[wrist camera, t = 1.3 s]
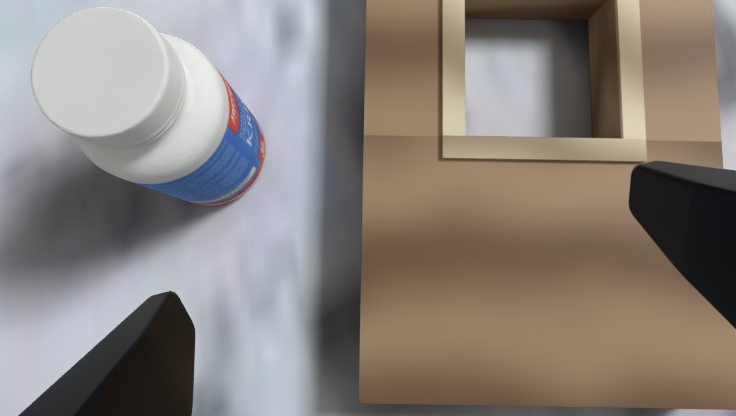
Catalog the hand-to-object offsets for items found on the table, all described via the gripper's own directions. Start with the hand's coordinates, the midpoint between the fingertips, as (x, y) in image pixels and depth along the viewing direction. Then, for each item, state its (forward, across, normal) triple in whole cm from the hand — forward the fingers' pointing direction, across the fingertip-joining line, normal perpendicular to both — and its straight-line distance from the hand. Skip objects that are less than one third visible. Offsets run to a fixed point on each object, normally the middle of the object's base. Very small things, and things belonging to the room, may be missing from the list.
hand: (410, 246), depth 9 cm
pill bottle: (+15, +7, +2) cm, 17 cm away
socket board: (+12, -8, +6) cm, 16 cm away
